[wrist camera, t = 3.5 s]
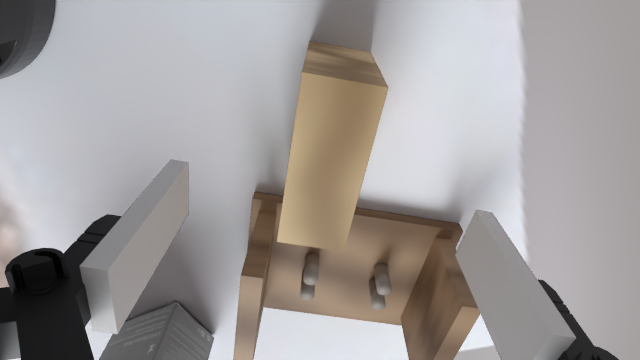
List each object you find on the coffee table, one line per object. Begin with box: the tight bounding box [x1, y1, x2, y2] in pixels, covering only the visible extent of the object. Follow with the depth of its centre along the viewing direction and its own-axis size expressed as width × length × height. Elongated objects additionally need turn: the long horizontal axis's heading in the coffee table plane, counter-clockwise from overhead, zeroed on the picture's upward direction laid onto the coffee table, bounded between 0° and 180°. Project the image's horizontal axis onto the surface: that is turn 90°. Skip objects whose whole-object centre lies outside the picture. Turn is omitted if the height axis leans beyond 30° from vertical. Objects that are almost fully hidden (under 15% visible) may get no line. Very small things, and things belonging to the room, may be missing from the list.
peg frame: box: [233, 192, 480, 360], centre depth 29 cm, size 12×17×8 cm
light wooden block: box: [277, 41, 388, 252], centre depth 22 cm, size 4×10×8 cm, turn 170°
